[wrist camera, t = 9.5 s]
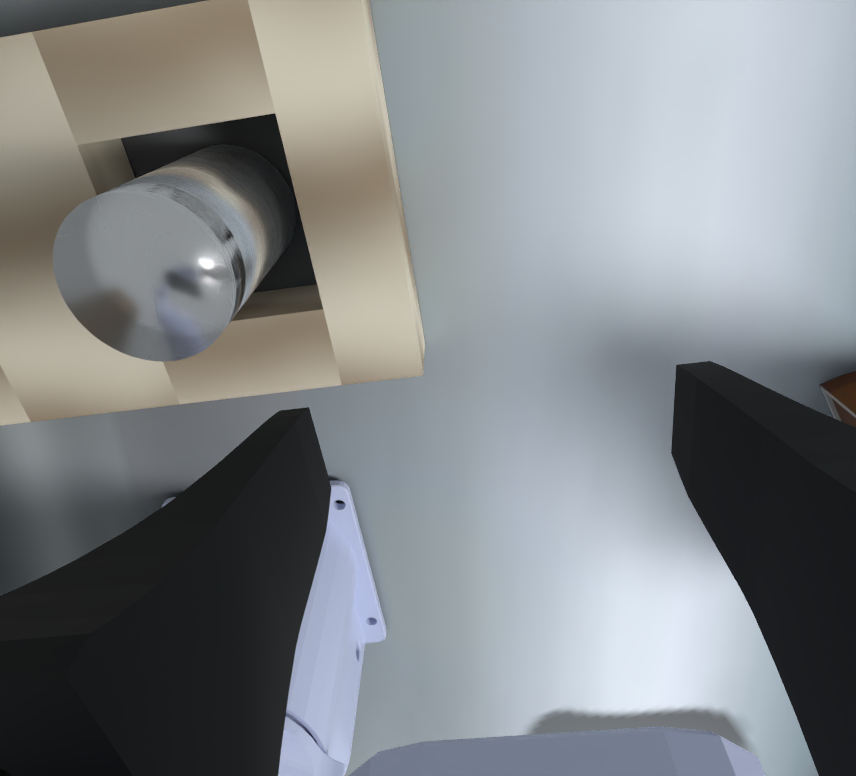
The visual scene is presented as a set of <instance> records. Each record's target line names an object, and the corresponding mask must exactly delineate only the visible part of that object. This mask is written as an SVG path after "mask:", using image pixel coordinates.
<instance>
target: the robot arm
mask: <svg viewBox="0 0 856 776" xmlns="http://www.w3.org/2000/svg"><path fill="white" fill-rule="evenodd" d="M671 453H672V456H673V459H674V461H675V464H676V467H677V469H678V472H679V475H680V477H681V480H682V482H683V485H684V487H685V490H686V492H687V495H688V497H689V499H690V500H691V502H692V504H693V506H694V508H695V509H696V511H697V513H698V515H699V517H700V518H701V520H702V522H703V524H704V526H705V527H706V529H707V531H708V533H709V534H710V536H711V538H712V540H713V541H714V543H715V545H716V547H717V548H718V550H719V552H720V553H721V555H722V557H723V559H724V560H725V562H726V564H727V566H728V567H729V569H730V571H731V573H732V574H733V576H734V578H735V580H736V581H737V583H738V585H739V587H740V588H741V590H742V592H743V594H744V596H745V598H746V600H747V602H748V604H749V606H750V608H751V610H752V612H753V614H754V616H755V618H756V621H757V623H758V625H759V628H760V630H761V632H762V634H763V637H764V639H765V641H766V644H767V646H768V648H769V651H770V653H771V655H772V658H773V660H774V662H775V665H776V667H777V670H778V672H779V674H780V677H781V679H782V682H783V684H784V687H785V689H786V692H787V694H788V697H789V699H790V702H791V704H792V706H793V709H794V711H795V714H796V716H797V719H798V722H799V724H800V727H801V729H802V732H803V735H804V737H805V740H806V743H807V745H808V748H809V751H810V753H811V756H812V759H813V761H814V764H815V766H816V769H817V772H818V774H819V776H856V427H853V426H851V425H848V424H846V423H844V422H841V421H839V420H836V419H834V418H832V417H829V416H827V415H824V414H822V413H820V412H818V411H815V410H813V409H811V408H809V407H806V406H804V405H802V404H800V403H798V402H796V401H793V400H791V399H789V398H787V397H785V396H783V395H781V394H779V393H777V392H775V391H773V390H771V389H769V388H766V387H764V386H762V385H760V384H758V383H756V382H754V381H752V380H750V379H748V378H746V377H744V376H742V375H740V374H738V373H736V372H734V371H732V370H730V369H727V368H725V367H723V366H721V365H718V364H716V363H713V362H710V361H707V362H699V363H690V364H681V365H676V381H675V399H674V416H673V434H672V452H671ZM336 500H342V501H343V502H344V503H343V504H340V503H337V502H336ZM370 617H371V618H370ZM385 637H386V625H385V621H384V618H383V614H382V610H381V606H380V602H379V599H378V595H377V591H376V587H375V583H374V579H373V576H372V572H371V568H370V564H369V560H368V557H367V553H366V549H365V545H364V541H363V537H362V534H361V530H360V526H359V522H358V518H357V515H356V511H355V507H354V503H353V499H352V495H351V492H350V488H349V486H348V485H347V484H346V483H345V482H342V481H337V480H335V481H329V478H328V474H327V470H326V467H325V463H324V460H323V456H322V452H321V449H320V445H319V442H318V438H317V435H316V431H315V427H314V424H313V420H312V417H311V413H310V410H309V407H308V408H300V409H291V410H282V411H279V412H277V413H276V414H275V415H273V416H272V417H271V418H269V419H268V420H267V421H266V422H265V423H264V424H262V425H261V426H260V427H259V428H258V429H257V430H256V431H254V432H253V433H252V434H251V435H250V436H249V437H248V438H247V439H245V440H244V441H243V442H242V443H241V444H240V445H239V446H238V447H236V448H235V449H234V450H233V451H232V452H231V453H230V454H228V455H227V456H226V457H225V458H224V459H223V460H222V461H220V462H219V463H218V464H217V465H216V466H215V467H213V468H212V469H211V470H210V471H208V472H207V473H206V474H205V475H203V476H202V477H201V478H200V479H198V480H197V481H196V482H195V483H193V484H192V485H191V486H190V487H188V488H187V489H186V490H185V491H183V492H182V493H181V494H180V495H178V496H177V497H171V498H168V499H166V500H165V501H164V503H163V505H162V507H161V508H160V509H159V510H158V511H156V512H155V513H153V514H152V515H150V516H149V517H147V518H146V519H144V520H143V521H141V522H140V523H138V524H137V525H135V526H134V527H132V528H130V529H129V530H127V531H126V532H124V533H122V534H120V535H119V536H117V537H115V538H113V539H112V540H110V541H108V542H107V543H105V544H103V545H101V546H100V547H98V548H96V549H94V550H93V551H91V552H89V553H87V554H86V555H84V556H82V557H80V558H79V559H77V560H75V561H73V562H71V563H69V564H67V565H65V566H63V567H61V568H59V569H57V570H55V571H53V572H51V573H49V574H47V575H45V576H43V577H41V578H39V579H37V580H35V581H33V582H31V583H28V584H26V585H24V586H22V587H20V588H18V589H16V590H13V591H11V592H9V593H7V594H4V595H2V596H0V776H345V773H346V771H347V768H348V764H349V760H350V755H351V748H352V740H353V733H354V725H355V717H356V710H357V702H358V694H359V687H360V679H361V671H362V664H363V656H364V648H365V643H373V642H380V641H382V640H384V639H385ZM349 776H766V774H765V772H764V770H763V767H762V765H761V763H760V761H759V758H758V757H757V756H755V755H753V754H752V753H750V752H748V751H746V750H744V749H743V748H741V747H739V746H737V745H735V744H734V743H732V742H730V741H728V740H726V739H725V738H723V737H721V736H719V735H717V734H715V733H712V732H710V731H701V730H691V729H681V728H670V727H645V728H629V729H614V730H598V731H584V732H567V733H551V734H535V735H520V736H504V737H488V738H473V739H457V740H442V741H426V742H420V743H415V744H411V745H407V746H403V747H398V748H394V749H390V750H385V751H381V752H378V753H377V754H375V755H374V756H373V757H371V758H370V759H369V760H368V761H366V762H365V763H364V764H363V765H361V766H360V767H359V768H358V769H356V770H355V771H354V772H353V773H351V774H350V775H349Z"/></svg>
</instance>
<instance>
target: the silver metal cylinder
mask: <svg viewBox="0 0 856 776" xmlns="http://www.w3.org/2000/svg"><path fill="white" fill-rule="evenodd" d="M295 226H296V207H295V202H294V198H293V195H292V192H291V190H290V188H289V186H288V183H287V182H286V180H285V179H284V177H283V176H282V174H281V173H280V172H279V171H278V169H277V168H276V167H275V166H274V165H273V164H272V163H271V162H269V161H268V160H267V159H266V158H264V157H263V156H261V155H260V154H258V153H256V152H254V151H252V150H250V149H247V148H244V147H241V146H236V145H228V144H221V145H213V146H209V147H206V148H204V149H201V150H199V151H197V152H195V153H192V154H190V155H188V156H186V157H183V158H181V159H179V160H177V161H174V162H172V163H170V164H168V165H165V166H163V167H161V168H158V169H156V170H154V171H152V172H149V173H147V174H145V175H143V176H140V177H138V178H136V179H134V180H131V181H129V182H127V183H125V184H122V185H120V186H118V187H116V188H113V189H111V190H109V191H107V192H104V193H102V194H100V195H98V196H95V197H93V198H91V199H88V200H86V201H84V202H83V203H81V204H80V205H78V206H77V207H76V208H74V209H73V210H72V211H71V212H70V213H69V214H68V215H67V217H66V218H65V219H64V221H63V222H62V224H61V226H60V228H59V230H58V232H57V235H56V238H55V241H54V247H53V268H54V275H55V278H56V282H57V285H58V288H59V290H60V293H61V295H62V297H63V299H64V301H65V303H66V304H67V306H68V308H69V309H70V310H71V312H72V313H73V315H74V316H75V317H76V318H77V320H78V321H79V322H80V323H81V324H82V325H83V326H84V327H85V328H86V329H87V330H88V331H89V332H90V333H91V334H92V335H94V336H95V337H96V338H98V339H99V340H100V341H102V342H103V343H105V344H106V345H108V346H110V347H111V348H113V349H115V350H117V351H119V352H121V353H124V354H127V355H129V356H132V357H136V358H139V359H143V360H150V361H162V362H167V361H177V360H181V359H186V358H189V357H191V356H194V355H196V354H198V353H200V352H202V351H204V350H205V349H206V348H208V347H209V346H210V345H212V344H213V343H214V342H215V341H216V340H217V338H218V337H219V336H220V335H221V333H222V332H223V331H224V329H225V328H226V327H227V326H228V324H229V323H230V322H231V320H232V319H233V318H234V316H235V315H236V314H237V312H238V311H239V310H240V308H241V307H242V306H243V305H244V303H245V302H246V301H247V299H248V298H249V297H250V295H251V294H252V293H253V291H254V290H255V289H256V288H257V286H258V285H259V284H260V282H261V281H262V280H263V278H264V277H265V276H266V274H267V273H268V272H269V270H270V269H271V268H272V267H273V265H274V264H275V263H276V261H277V260H278V259H279V257H280V256H281V255H282V253H283V252H284V251H285V249H286V248H287V247H288V245H289V243H290V241H291V239H292V237H293V234H294V231H295Z"/></svg>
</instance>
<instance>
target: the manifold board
mask: <svg viewBox="0 0 856 776" xmlns="http://www.w3.org/2000/svg"><path fill="white" fill-rule="evenodd" d="M274 113H275V114H276V118H277V122H278V126H279V130H280V134H281V138H282V142H283V146H284V150H285V155H286V159H287V163H288V167H289V171H290V175H291V179H292V183H293V187H294V191H295V195H296V200H297V204H298V208H299V212H300V216H301V220H302V224H303V228H304V232H305V236H306V240H307V245H308V249H309V253H310V257H311V261H312V265H313V269H314V273H315V277H316V281H317V284H315V285H307V286H300V287H292V288H285V289H277V290H270V291H262V292H255V293H252V294H251V295H250V297H249V298H248V299H247V301H246V302H245V303H244V305H243V306H242V307H241V308H240V310H239V311H238V312H237V314H236V315H235V316H234V318H233V319H232V320H231V322H230V323H229V324H228V326H227V327H226V328H225V329H224V331H223V332H222V333H221V335H220V336H219V337H218V338H217V340H216V341H215V342H214V343H213V344H212V345H210V346H209V347H208V348H206V349H205V350H204V351H202V352H200V353H198V354H196V355H194V356H191V357H189V358H186V359H181V360H177V361H167V362H162V361H150V360H143V359H139V358H136V357H132V356H129V355H127V354H124V353H121V352H119V351H117V350H115V349H113V348H111V347H110V346H108V345H106V344H105V343H103V342H102V341H100V340H99V339H98V338H96V337H95V336H94V335H92V334H91V333H90V332H89V331H88V330H87V329H86V328H85V327H84V326H83V325H82V324H81V323H80V322H79V321H78V320H77V318H76V317H75V316H74V315H73V313H72V312H71V310H70V309H69V308H68V306H67V304H66V303H65V301H64V299H63V297H62V295H61V293H60V290H59V288H58V285H57V282H56V278H55V275H54V268H53V247H54V241H55V238H56V235H57V232H58V230H59V228H60V226H61V224H62V222H63V221H64V219H65V218H66V217H67V215H68V214H69V213H70V212H71V211H72V210H73V209H74V208H76V207H77V206H78V205H80V204H81V203H83V202H84V201H86V200H88V199H91V198H93V197H95V196H98V195H100V194H102V193H104V192H107V191H109V190H111V189H113V188H116V187H118V186H120V185H122V184H125V183H127V182H129V181H131V180H134V179H135V176H134V173H133V171H132V168H131V165H130V162H129V160H128V157H127V154H126V151H125V149H124V146H123V143H122V140H121V138H124V137H130V136H137V135H143V134H149V133H155V132H162V131H168V130H174V129H180V128H187V127H193V126H199V125H205V124H211V123H218V122H224V121H230V120H236V119H243V118H249V117H255V116H261V115H268V114H274ZM424 350H425V340H424V334H423V328H422V322H421V316H420V310H419V303H418V297H417V291H416V285H415V279H414V273H413V267H412V260H411V254H410V248H409V242H408V236H407V230H406V224H405V218H404V211H403V205H402V199H401V193H400V187H399V181H398V175H397V168H396V162H395V156H394V150H393V144H392V138H391V132H390V126H389V119H388V113H387V107H386V101H385V95H384V89H383V83H382V77H381V70H380V64H379V58H378V52H377V46H376V40H375V34H374V27H373V21H372V15H371V9H370V3H369V0H207V1H201V2H196V3H190V4H185V5H179V6H174V7H168V8H162V9H157V10H151V11H146V12H140V13H135V14H129V15H123V16H118V17H112V18H107V19H101V20H95V21H90V22H84V23H79V24H73V25H68V26H62V27H56V28H51V29H45V30H40V31H34V32H29V33H23V34H17V35H12V36H6V37H1V38H0V425H8V424H17V423H25V422H34V421H42V420H51V419H59V418H68V417H76V416H85V415H93V414H102V413H110V412H119V411H127V410H135V409H144V408H152V407H161V406H169V405H178V404H186V403H195V402H203V401H212V400H220V399H229V398H237V397H246V396H254V395H263V394H271V393H279V392H288V391H296V390H305V389H313V388H322V387H330V386H339V385H347V384H356V383H364V382H373V381H381V380H390V379H398V378H406V377H415V376H423V366H424Z"/></svg>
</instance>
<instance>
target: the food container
mask: <svg viewBox="0 0 856 776" xmlns="http://www.w3.org/2000/svg"><path fill="white" fill-rule="evenodd" d="M820 388H821V390H822V392H823V394H824V397H825V399H826V401H827V404H828V406H829V408H830V411H831V413H832V415H833V417H834V419H836V420H839V421H841V422H844V423H846V424H848V425H851V426H853V427H856V371H854V372H851V373H848V374H844V375H841V376H839V377H837V378H834V379H832V380H830V381H827V382H825V383H822V384H820Z"/></svg>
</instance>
